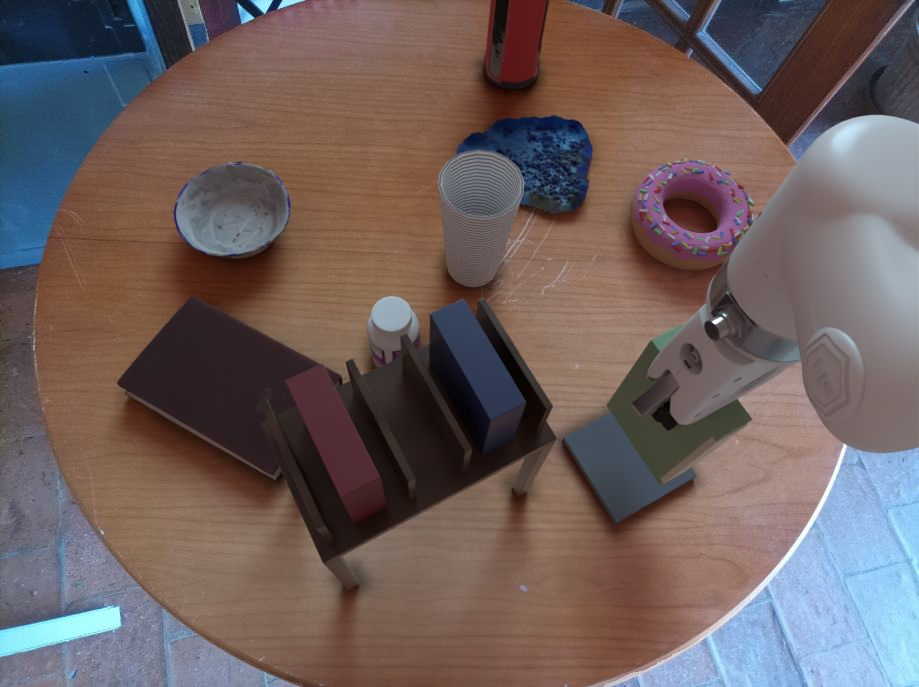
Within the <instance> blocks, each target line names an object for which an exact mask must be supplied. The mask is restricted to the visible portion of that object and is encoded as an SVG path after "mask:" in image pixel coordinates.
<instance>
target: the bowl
mask: <svg viewBox="0 0 919 687" xmlns="http://www.w3.org/2000/svg"><path fill="white" fill-rule="evenodd" d="M172 215H173V219H174V223H175V228H176V231H177V232H178V234H179V236H180V237H181V239H182V240H183V241H184V242H185V244H187V245H188V246H189V247H191V249H193V250H195V251H197V252H199V253H201V254H204V255H206V256H211V257H216V258H227V259H237V260H238V259H247V258H251V257H254V256H256V255H259V254H260V253H262V252H263V251H264V250H266V249H267V248H268V247H269V246H270V245H271V244H273V243H274V241H276V240H277V239H279V237H280V236H281V235H282V233H283V232H284V231H285V229H286V228H287V226H288V224H289V222H290V217H291V199H290V194H289V192H288V190H287V188H286V186H285V185H284V183H283V181H282V180H281V178H279V177H278V176H277V174H276V172H275V171H273V170H271V169H269V168H265V167H263V166H259V165H257V164H251V163H248V162H242V161H236V162H232V161H228V162H226V163H225V164H220V165H215V166H213V167H210V168H208V169H206V170H204V171H202V172H200V173H198V174H196V176H195V177H193V178H191V179H190V180H189V181H187V182H186V184H184V185H183V188H181V190H180V191H179V194H178V196H177V197H176V202H175V205H174V208H173V212H172Z"/></svg>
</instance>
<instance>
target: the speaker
mask: <svg viewBox="0 0 919 687" xmlns="http://www.w3.org/2000/svg"><path fill="white" fill-rule="evenodd" d="M549 5H550V0H490V2H489V14H488V24H487V34H486V45H485V53H484V57H483V60H482V63H483V64H482V71H483V73H484V75H485V77H486V78H487V79H488V80H489V81H490V82H491V83H492V84H494V85H495V86H498V87H501V88H504V89H508V90H518V89H524V88H526V87H529V86H530V85H532V84H533V83H534V82H535V81H537V78H538V76H539V74H540V63H541V62H540V58H541V52H542V48H543V40H544V39H543V38H544V33H545V29H546V28H545V26H546V20H547V17H548V10H549Z"/></svg>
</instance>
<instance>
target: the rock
mask: <svg viewBox="0 0 919 687" xmlns="http://www.w3.org/2000/svg"><path fill="white" fill-rule="evenodd" d="M593 148H594V147H593V145H592V142H591V141H590V135H589V133H588V132H587V129H585V127H584V126H583V124H582V123H581V122H580V121H579V120H577V119H574V118H572V119H571V118H569V119H567V118H564V117H562V116H558V115H555V114H553V115H550V116H543V117H538V116H536V115H532V116H522V117H519V118H513V117H504V118H500V119H498V120H496V121H494V122H493V124H492V125H491V126H490V128H488V129H486V130H485V131H483V132H480V131H478V132H471V133H470V134H469V135H467V137H465V139H464V140H463V141H462V142H461V143H460V144H459V145H458V146H457V149H456V153H455V155H454V157H455V156H457V155H458V154H460V153H462V152H467V151H472V150H477V149H478V150H487V151H494V152H496V153H498V154H501V155H503V156H505V157H507V158H509V159H510V160H511V161H512V162H513V163H514V164H515V165H516V166H517V167H518V168H519V170H520V172H521V175H522V177H523V180H524V190H523V197H522V200H521V203H520V205H522V206H523V207H524V206H526V205H527V206H528V207H532V208H538V209H540V210H543V211H544V212H546V213H548V212H549V214H550V215H554V214H558V213H564V212H575V211H577V209H578V208H581V207H582V203H583V202H584V201H585V199H586V196H587V194H588V190H589V183H590V180H589V179H588V171H589V168H590V167H591V159H592V158H591V157H593Z"/></svg>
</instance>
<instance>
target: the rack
mask: <svg viewBox="0 0 919 687" xmlns="http://www.w3.org/2000/svg"><path fill="white" fill-rule="evenodd" d="M475 318H476V319H477V321H478V323H479V324H480V326H481V328H482V329H483V331H484V333H485V334H486V336H487V338H488V339H489V341H490V343H491V344H492V346H493V348H494V349H495V351H496V353H497V354H498V356H499V358H500V359H501V361H502V363H503V364H504V366H505V368H506V369H507V371H508V373H509V374H510V376H511V378H512V379H513V381H514V382H515V384H516V386H517V387H518V389H519V391H520V392H521V394H522V396H523V397H524V399H525V401H526V406H525V408H524V411H523V414H522V417H521V419H520V422H519V425H518V427H517V430H516V433H515V436H514V438H513V441H511V442H509V443H507V444H505V445H503V446H501V447H499V448H497V449H495V450H493V451H491V452H489V453H487V454H485V455H484V456H481V454H480V452H479V450H478V449H477V447H476V445H475V443H474V441H473V440H472V438H471V436H470V434H469V432H468V431H467V429H466V427H465V425H464V423H463V422H462V420H461V418H460V416H459V414H458V413H457V411H456V409H455V407H454V405H453V404H452V402H451V400H450V398H449V396H448V395H447V393H446V391H445V389H444V387H443V386H442V384H441V382H440V380H439V378H438V377H437V375H436V373H435V371H434V369H433V368H432V366H431V364H430V362H429V343H427V344H425V345H423V346H420V348H419V349H416V348H415V346H414V345H413V343H412V341H411V339H410V338H409V336H408V334H407V333H406V334H404V335H402V336H400V343H401V355H402V357H399V358H397V359H395V360H393V361H391V362H389V363H387V364H385V365H383V366H380V367H377V368H373V369H372V370H370V371H367V372H365V373H363V374H362V373H361V372H360V369H359V367H358V366H357V363H356V362H355V360H354V358H349V359H348V360H346V361H345V367H346V370H347V374H348V377H349V381H347V382H345V383H344V382H343V384H342V385H340V386H338V387H336V390H337V392H338V394H339V396H340V398H341V400H342V402H343V404H344V406H345V408H346V410H347V412H348V414H349V416H350V418H351V420H352V422H353V424H354V426H355V428H356V430H357V432H358V434H359V436H360V438H361V440H362V442H363V444H364V446H365V448H366V449H367V451H368V453H369V455H370V457H371V459H372V461H373V463H374V465H375V467H376V469H377V471H378V473H379V475H380V478H381V482H382V486H383V490H384V494H385V498H386V502H387V507H385V508H383V509H381V510H379V511H377V512H375V513H374V514H372V515H370V516H368V517H366V518H364V519H362V520H360V521H358V522H356V523H355V524H353V522H352V520H351V518H350V516H349V514H348V512H347V510H346V508H345V506H344V504H343V502H342V500H341V498H340V496H339V494H338V492H337V490H336V488H335V486H334V484H333V482H332V480H331V477H330V475H329V473H328V471H327V469H326V467H325V465H324V463H323V461H322V459H321V456H320V454H319V452H318V450H317V448H316V446H315V444H314V442H313V440H312V438H311V435H310V433H309V431H308V429H307V427H306V425H305V423H304V421H303V419H302V417H301V414H300V412H299V410H298V408H297V406H296V407H294V408H292V409H289V410H287V411H285V412H283V413H281V414H279V415H276V413H275V411H274V409H273V408H272V406H271V404H270V403H269V401H268V399H264V400H262V401H260V402H259V403H260V405H261V408H262V410H263V412H264V414H265V416H266V419H267V420H266V421H264V422H262V423H261V427H262V429H263V431H264V433H265V435H266V438H267V440H268V442H269V444H270V447H271V449H272V451H273V453H274V456H275V458H276V460H277V462H278V464H279V467H280V469H281V471H282V473H283V475H282V477H283V478H284V480H285V482H286V484H287V487H288V489H289V491H290V493H291V495H292V497H293V500H294V502H295V505H296V507H297V510H298V511H299V513H300V516H301V518H302V520H303V522H304V524H305V527H306V530H307V531H308V533H309V534H308V535H310V538H311V540H312V542H313V545H314V546H315V550H316V551H317V554H318V556H319V558H320V560H321V563H322V564H323V565H324V566H325V567H326V568H327V569H328V571H330V572H331V573H332V575H334V577H335V578H336V579H337V580H338V581H339V583H341V584H342V585H343V586H344V587H345V588H346V589H347V590H348V591H350V590H352V589H354V588H355V587H358V586H359V585H360V581H359V578H358V577H357V575H356V572H355V571H354V570H353V568H352V567H351V565H350V564H349V562H347V560H346V558H345V557H344V556H345V555H347V554H348V553H349V554H350V553H351V552H352V551H354V550H356V549H358V548H361V546H363V545H366V544H367V543H369V542H372V541H373V540H375V539H377V538H379V537H381V536H383V535H384V534H386V533H388V532H390V531H392V530H394V529H396V528H397V527H399V526H401V525H403V524H405V523H407V522H408V521H411V520H412V519H414V518H415V517H417V516H419V515H422V514H423V513H425V512H427V511H429V510H431V509H433V508H434V507H437V506H438V505H440V504H442V503H444V502H446V501H448V500H450V499H451V498H453V497H455V496H457V495H459V494H461V493H462V492H464V491H467V490H468V489H470V488H472V487H474V486H476V485H477V484H479V483H481V482H483V481H485V480H487V479H488V478H491V477H493V476H495V475H496V474H498V473H500V472H502V471H504V470H505V469H507V468H510V467H511V466H513V465H515V464H517V463H519V462H520V461H522V460H523V462H522V463H521V466H520V468H519V470H518V473H517V475H516V477H515V479H514V482H513V484H512V486H511V488H512V490H513V491H514V493H515V495H516V496H517V497H518V498H519V497H521V496H523V495H524V494H526V493H528V492H529V490H530V488H531V486H532V485H533V483H534V481H535V479H536V478H537V476H538V474H539V472H540V470H541V469H542V466H543V465H544V463H545V461H546V459H547V457H548V456H549V454H550V452H551V451H552V449H553V447H554V444H555V443H556V441H557V439H558V436H557V435H556V434H555V432H554V430H553V429H552V428H551V425H550V424H549V422H548V421H547V420H548V418H549V417H550V414H551V412H552V409H553V408H554V405H553V404H552V402H551V400H550V398H549V397H548V395H547V393H545V391H544V390H543V387H542V386H541V384H540V383H539V381H538V380H537V378H536V377H535V375H534V374H533V372H532V371H531V369H530V367H529V365H528V364H527V362H526V360H525V359H524V358H523V356H522V355H521V353H520V352H519V350H518V348H517V346H516V344H515V343H514V342H513V341H512V339H511V337H510V335H509V334H508V333H507V331H506V329H505V328H504V325H503V324H502V323H501V321H500V320H499V318H498V316H497V315H496V313H495V312H494V310H493V309H492V307H491V306H490V304H489V302H488V301H487V299H486V298H485V297H482V298H479V299H478V300H477V304H476V311H475Z"/></svg>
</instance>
